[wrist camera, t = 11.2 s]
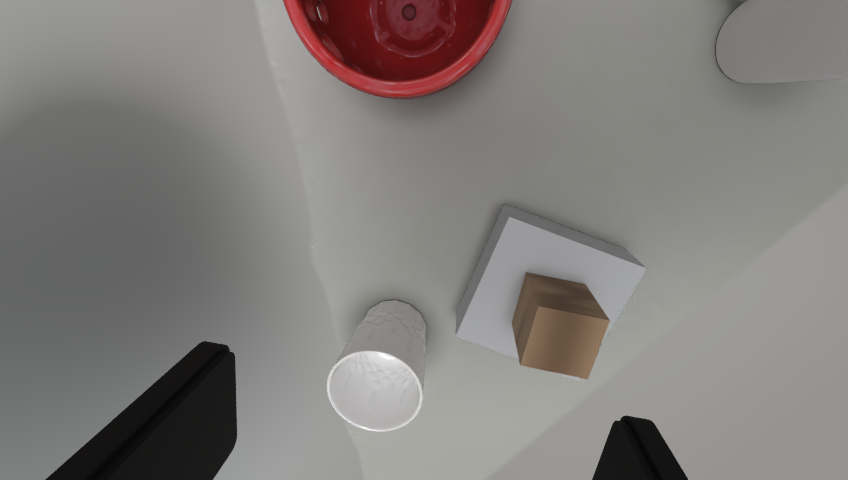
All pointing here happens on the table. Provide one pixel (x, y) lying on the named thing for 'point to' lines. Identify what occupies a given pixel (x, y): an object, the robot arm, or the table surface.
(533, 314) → the walnut block
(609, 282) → the grey block
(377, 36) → the plant pot
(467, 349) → the table surface
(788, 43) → the mug
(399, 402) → the white cup
